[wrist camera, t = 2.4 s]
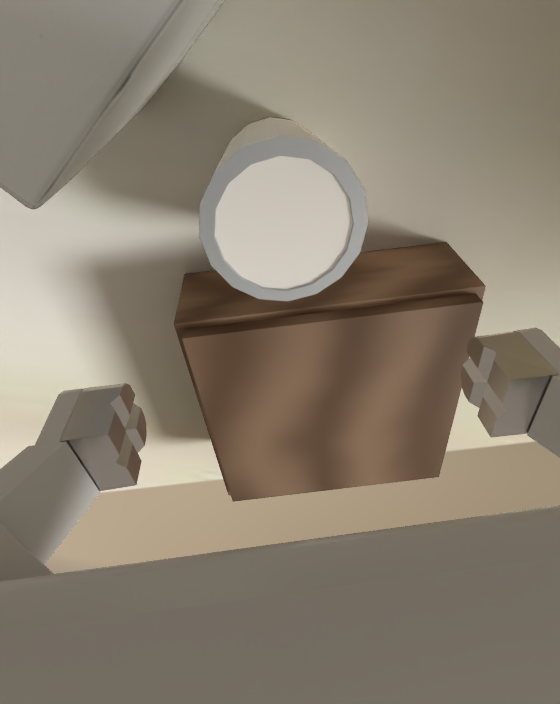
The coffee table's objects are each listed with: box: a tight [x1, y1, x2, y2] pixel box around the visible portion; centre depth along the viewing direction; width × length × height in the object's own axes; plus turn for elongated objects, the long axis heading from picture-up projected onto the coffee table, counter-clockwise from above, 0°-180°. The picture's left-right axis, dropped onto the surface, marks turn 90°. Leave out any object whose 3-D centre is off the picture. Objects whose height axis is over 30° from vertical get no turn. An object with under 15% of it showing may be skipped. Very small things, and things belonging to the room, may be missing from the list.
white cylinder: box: [199, 117, 369, 301], centre depth 19 cm, size 7×7×7 cm
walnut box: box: [174, 242, 486, 501], centre depth 28 cm, size 16×16×6 cm
